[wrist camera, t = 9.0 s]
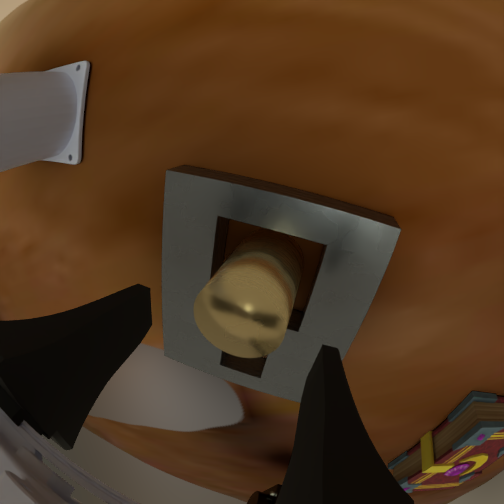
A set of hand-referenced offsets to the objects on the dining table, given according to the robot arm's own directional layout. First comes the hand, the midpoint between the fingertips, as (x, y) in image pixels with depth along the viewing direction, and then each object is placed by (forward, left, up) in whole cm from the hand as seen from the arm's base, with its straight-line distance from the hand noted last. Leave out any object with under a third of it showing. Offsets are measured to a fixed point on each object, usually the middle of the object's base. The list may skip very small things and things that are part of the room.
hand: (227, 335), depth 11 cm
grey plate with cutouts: (0, -2, -7) cm, 7 cm away
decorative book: (+25, -15, -7) cm, 30 cm away
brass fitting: (0, 0, -7) cm, 7 cm away
